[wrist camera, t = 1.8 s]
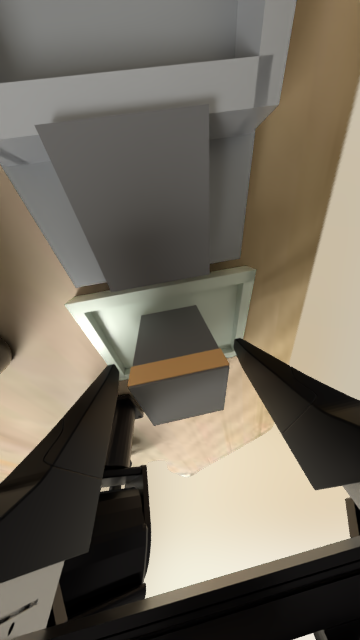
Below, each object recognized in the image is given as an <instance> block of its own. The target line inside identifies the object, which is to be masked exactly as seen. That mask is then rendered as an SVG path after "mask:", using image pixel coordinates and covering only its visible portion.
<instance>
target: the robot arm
mask: <svg viewBox="0 0 360 640" xmlns="http://www.w3.org/2000/svg"><path fill="white" fill-rule="evenodd" d="M233 348H234V351H235V353H236V355H237V357H238V359H239V362H240V364H241V366H242V368H243V370H244V371H245V373H246V375H247V377H248V378H249V380H250V382H251V383H252V385H253V387H254V388H255V390H256V392H257V393H258V395H259V397H260V398H261V400H262V402H263V404H264V405H265V407H266V409H267V410H268V412H269V414H270V415H271V417H272V419H273V420H274V422H275V424H276V425H277V427H278V429H279V430H280V432H281V434H282V436H283V438H284V439H285V441H286V443H287V444H288V446H289V448H290V449H291V451H292V453H293V454H294V456H295V458H296V459H297V461H298V463H299V465H300V466H301V468H302V470H303V471H304V473H305V475H306V476H307V478H308V480H309V481H310V483H311V485H312V486H313V488H314V489H315V490H319V489H325V488H331V487H337V486H343V487H344V489H345V490H346V491H347V492H348V494H349V495H350V498H346V499H345V501H346V509H347V516H348V524H349V532H350V537H351V538H350V539H347V540H343V541H340V542H336V543H333V544H330V545H326V546H323V547H320V548H316V549H313V550H309V551H306V552H302V553H299V554H296V555H293V556H289V557H285V558H282V559H279V560H275V561H272V562H269V563H265V564H262V565H258V566H255V567H252V568H248V569H245V570H241V571H238V572H235V573H231V574H228V575H224V576H221V577H218V578H214V579H211V580H207V581H204V582H201V583H197V584H194V585H191V586H187V587H184V588H180V589H177V590H174V591H170V592H167V593H163V594H160V595H157V596H153V597H150V598H146V599H145V595H146V584H145V583H143V582H144V578H145V575H146V572H147V568H148V563H149V557H150V547H151V522H150V507H149V494H148V480H147V467H146V465H141V466H140V467H129V466H130V457H131V448H132V439H133V430H134V421H135V419H139V418H142V417H143V412H142V411H141V409H140V408H139V406H138V405H137V404H136V402H135V401H134V399H133V398H132V397H131V396H130V395H124V396H120V397H117V396H118V386H119V370H118V368H117V367H116V365H115V364H111V365H108V366H107V367H106V368H105V369H104V370H103V372H102V373H101V374H100V375H99V376H98V377H97V378H96V380H95V381H94V382H93V383H92V384H91V385H90V387H89V388H88V389H87V390H86V391H85V392H84V393H83V395H82V396H81V397H80V398H79V399H78V400H77V402H76V403H75V404H74V405H73V406H72V407H71V408H70V410H69V411H68V412H67V413H66V414H65V415H64V417H63V418H62V419H61V420H60V421H59V422H58V423H57V425H56V426H55V427H54V428H53V429H52V430H51V431H50V432H49V434H48V435H47V436H46V437H45V438H44V439H43V440H42V441H41V442H40V443H39V444H38V445H37V446H36V447H35V449H34V450H33V451H32V452H31V453H30V454H29V455H28V456H27V457H26V458H25V459H24V460H23V461H22V462H21V463H20V464H19V465H18V466H17V467H16V468H15V469H14V470H13V471H12V472H11V473H10V475H9V476H8V477H7V478H6V479H5V480H4V481H3V482H1V483H0V640H293V639H296V638H299V637H302V636H305V635H308V634H311V633H314V636H315V639H316V640H360V400H357V399H355V398H352V397H350V396H348V395H346V394H344V393H342V392H340V391H338V390H335V389H334V388H331V387H329V386H327V385H325V384H323V383H321V382H319V381H317V380H315V379H313V378H311V377H309V376H307V375H305V374H304V373H302V372H300V371H298V370H296V369H295V368H293V367H290V366H289V365H287V364H286V363H284V362H282V361H280V360H279V359H277V358H275V357H273V356H272V355H270V354H268V353H266V352H264V351H263V350H261V349H259V348H257V347H256V346H254V345H252V344H250V343H249V342H247V341H245V340H243V339H242V338H236V339H234V345H233ZM124 484H125V488H124V489H117V490H110V491H104V492H100V488H102V487H110V486H117V485H124Z"/></svg>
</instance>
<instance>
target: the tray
mask: <svg viewBox="0 0 360 640" xmlns="http://www.w3.org/2000/svg"><path fill="white" fill-rule="evenodd" d="M255 275H256V269H254V268H251V267H249V266H240V267H235V268H229V269H224V270H218V271H213V272H210V274H209V275H204V276H198V277H193V278H187V279H182V280H176V281H171V282H165V283H160V284H154V285H149V286H143V287H138V288H132V289H127V290H121V291H116V292H111V290H108V291H103V292H97V293H92V294H86V295H81V296H75V297H73V298H72V299H71V300H70V301H69V302H67V303H66V304H65V306H66V308H67V309H68V311H69V312H70V313H71V315H72V316H73V318H74V319H75V320H76V322H77V323H78V324H79V326H80V327H81V329H82V330H83V331H84V333H85V334H86V336H87V337H88V338H89V340H90V341H91V342H92V344H93V345H94V347H95V348H96V349H97V351H98V352H99V354H100V355H101V356H102V358H103V359H104V360H105V362H106V363H107V365H111V364H115V365H116V367H117V368H118V370H119V381H122V380H127V379H129V375H130V369H131V367H132V366H133V360H134V355H135V349H136V343H137V337H138V331H139V326H140V320H141V315H146V314H152V313H157V312H162V311H167V310H172V309H178V308H183V307H188V306H193V305H196V306H197V308H198V310H199V311H200V313H201V315H202V317H203V319H204V321H205V323H206V324H207V326H208V328H209V330H210V332H211V334H212V336H213V338H214V339H215V341H216V343H217V345H218V347H219V348H221V350H222V352H223V353H224V355H225V357H226V358H229V357H234V356H237V355H236V353H235V351H234V348H233V345H234V339H236V338H242V339H243V337H244V332H245V326H246V321H247V316H248V311H249V306H250V301H251V295H252V290H253V285H254V280H255Z"/></svg>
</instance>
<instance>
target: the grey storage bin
mask: <svg viewBox="0 0 360 640" xmlns="http://www.w3.org/2000/svg"><path fill="white" fill-rule="evenodd" d="M296 1H297V0H0V165H1V166H2V168H3V170H4V171H5V173H6V175H7V176H8V178H9V179H10V181H11V183H12V184H13V186H14V188H15V189H16V191H17V192H18V194H19V196H20V197H21V199H22V201H23V202H24V204H25V206H26V207H27V209H28V210H29V212H30V214H31V215H32V217H33V219H34V220H35V222H36V223H37V225H38V227H39V228H40V230H41V232H42V233H43V235H44V237H45V238H46V240H47V241H48V243H49V245H50V246H51V248H52V250H53V251H54V253H55V255H56V256H57V258H58V259H59V261H60V263H61V264H62V266H63V268H64V269H65V271H66V272H67V274H68V276H69V277H70V279H71V281H72V282H73V284H74V286H75V287H76V288H78V287H83V286H89V285H94V284H100V283H106V282H107V284H108V286H109V288H110V290H111V292H116V291H121V290H127V289H132V288H138V287H143V286H149V285H154V284H160V283H165V282H171V281H176V280H182V279H187V278H193V277H198V276H204V275H209V274H210V264H212V263H218V262H223V261H229V260H234V259H240V255H241V247H242V239H243V230H244V222H245V213H246V205H247V196H248V188H249V180H250V171H251V163H252V154H253V146H254V137H255V129H256V128H257V127H258V126H259V125H260V124H261V123H262V122H263V121H264V120H265V119H266V118H267V116H268V115H269V114H270V113H271V112H272V111H273V110H274V109H275V108H276V107H277V106H278V105H279V101H280V96H281V90H282V84H283V78H284V72H285V66H286V60H287V54H288V48H289V43H290V37H291V31H292V25H293V19H294V13H295V7H296Z"/></svg>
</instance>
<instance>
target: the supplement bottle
mask: <svg viewBox="0 0 360 640" xmlns="http://www.w3.org/2000/svg"><path fill="white" fill-rule="evenodd" d="M11 358H12V354H11V350H10V348H9V346H8V345H7V343H6V342H5V341H4V340H3V339H2V338H1V337H0V374H1V373H2V372H3V371H4V370H5V369H6V368H7V366H8V365H9V364H10V362H11Z"/></svg>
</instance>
